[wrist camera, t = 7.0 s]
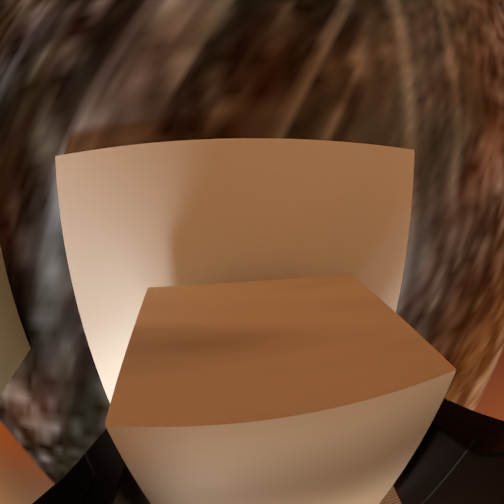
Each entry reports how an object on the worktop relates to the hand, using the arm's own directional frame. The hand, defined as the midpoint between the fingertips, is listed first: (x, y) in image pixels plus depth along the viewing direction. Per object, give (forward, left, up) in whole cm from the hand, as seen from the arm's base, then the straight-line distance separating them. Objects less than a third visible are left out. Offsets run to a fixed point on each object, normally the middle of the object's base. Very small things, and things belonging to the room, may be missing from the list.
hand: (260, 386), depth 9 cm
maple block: (0, 0, -1) cm, 1 cm away
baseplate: (0, 0, -3) cm, 3 cm away
